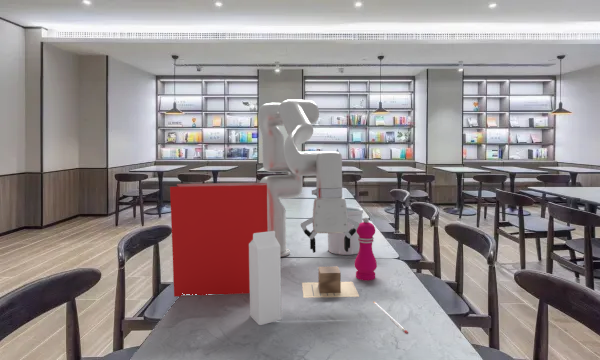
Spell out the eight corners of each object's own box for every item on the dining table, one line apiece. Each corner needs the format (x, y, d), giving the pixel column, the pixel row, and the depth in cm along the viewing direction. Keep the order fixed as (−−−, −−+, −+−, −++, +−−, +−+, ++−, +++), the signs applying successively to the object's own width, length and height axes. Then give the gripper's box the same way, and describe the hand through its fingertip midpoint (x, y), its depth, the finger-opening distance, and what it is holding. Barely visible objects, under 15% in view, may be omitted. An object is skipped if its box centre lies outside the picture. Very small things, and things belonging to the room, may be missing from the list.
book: (174, 296, 109) (170, 186, 106) (180, 286, 117) (176, 184, 114) (268, 292, 111) (266, 185, 109) (268, 282, 119) (266, 182, 116)
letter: (303, 298, 107) (303, 297, 107) (301, 283, 119) (301, 282, 119) (359, 297, 107) (359, 296, 107) (352, 282, 119) (352, 281, 119)
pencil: (405, 334, 86) (405, 331, 86) (370, 302, 104) (370, 300, 104) (408, 334, 86) (408, 331, 86) (373, 302, 105) (373, 299, 104)
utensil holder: (327, 245, 164) (327, 205, 163) (362, 246, 162) (362, 206, 161) (325, 255, 150) (325, 211, 148) (363, 256, 148) (363, 212, 146)
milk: (281, 320, 93) (281, 233, 91) (258, 326, 90) (257, 236, 88) (271, 311, 99) (270, 228, 97) (249, 316, 96) (248, 231, 94)
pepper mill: (352, 274, 127) (352, 215, 125) (373, 273, 127) (373, 215, 125) (357, 282, 119) (357, 219, 118) (379, 281, 120) (380, 219, 118)
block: (320, 293, 110) (320, 273, 109) (318, 285, 116) (318, 266, 115) (340, 292, 110) (340, 272, 110) (337, 285, 116) (337, 266, 115)
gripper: (300, 195, 106) (301, 255, 107) (361, 194, 107) (361, 253, 108) (299, 193, 114) (300, 248, 115) (356, 191, 114) (356, 247, 115)
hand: (330, 251), depth 111 cm, fingers open, 9 cm apart
